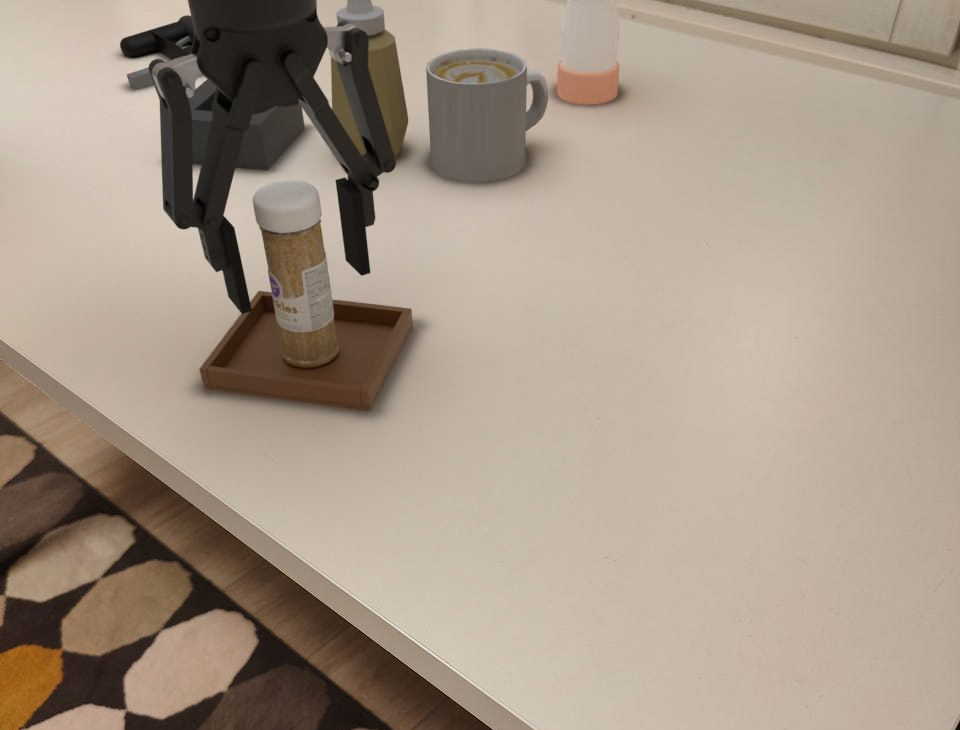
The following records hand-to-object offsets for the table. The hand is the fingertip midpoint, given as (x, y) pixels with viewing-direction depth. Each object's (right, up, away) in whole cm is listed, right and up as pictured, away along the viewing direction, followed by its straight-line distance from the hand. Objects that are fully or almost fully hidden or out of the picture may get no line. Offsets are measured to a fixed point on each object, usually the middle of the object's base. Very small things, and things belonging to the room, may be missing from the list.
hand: (300, 284), depth 70 cm
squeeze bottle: (+2, +21, +32) cm, 38 cm away
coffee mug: (+15, +19, +31) cm, 39 cm away
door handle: (-25, +39, +53) cm, 70 cm away
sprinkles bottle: (0, -5, +4) cm, 6 cm away
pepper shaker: (+26, +32, +44) cm, 60 cm away
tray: (0, -5, +5) cm, 7 cm away
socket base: (-13, +22, +34) cm, 43 cm away
